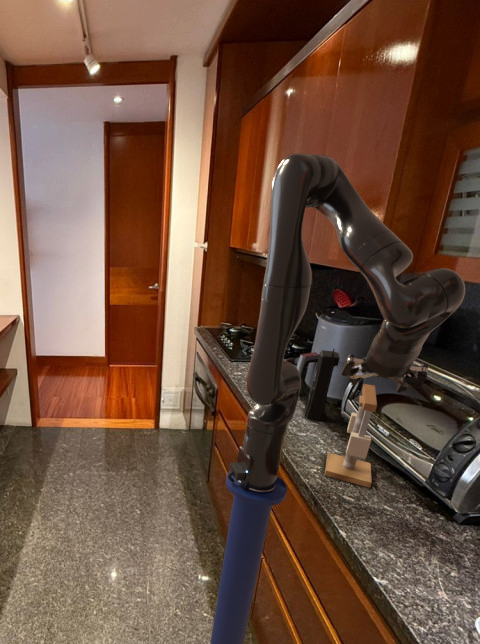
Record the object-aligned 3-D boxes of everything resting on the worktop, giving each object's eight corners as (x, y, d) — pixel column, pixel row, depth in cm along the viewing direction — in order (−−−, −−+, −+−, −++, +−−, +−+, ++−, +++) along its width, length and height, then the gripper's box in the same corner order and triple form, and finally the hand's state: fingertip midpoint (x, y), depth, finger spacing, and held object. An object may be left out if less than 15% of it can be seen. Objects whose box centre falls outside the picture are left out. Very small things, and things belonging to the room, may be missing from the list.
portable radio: (303, 409, 138) (318, 341, 128) (323, 412, 135) (339, 343, 126) (304, 418, 131) (319, 348, 122) (324, 422, 129) (341, 350, 119)
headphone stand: (324, 475, 102) (343, 403, 94) (326, 457, 109) (344, 389, 101) (370, 487, 97) (394, 413, 89) (369, 468, 104) (391, 397, 96)
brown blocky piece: (346, 454, 95) (360, 403, 89) (347, 429, 106) (360, 382, 101) (365, 459, 93) (381, 407, 87) (364, 432, 104) (378, 385, 99)
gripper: (443, 338, 72) (416, 376, 86) (353, 329, 79) (342, 365, 93) (438, 373, 70) (412, 407, 83) (347, 360, 77) (336, 393, 90)
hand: (375, 385), depth 88 cm, fingers open, 8 cm apart
